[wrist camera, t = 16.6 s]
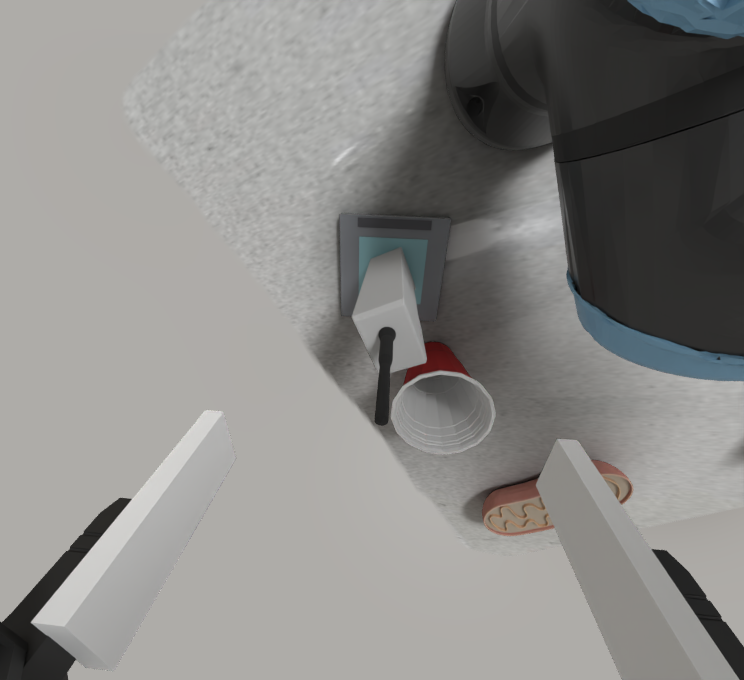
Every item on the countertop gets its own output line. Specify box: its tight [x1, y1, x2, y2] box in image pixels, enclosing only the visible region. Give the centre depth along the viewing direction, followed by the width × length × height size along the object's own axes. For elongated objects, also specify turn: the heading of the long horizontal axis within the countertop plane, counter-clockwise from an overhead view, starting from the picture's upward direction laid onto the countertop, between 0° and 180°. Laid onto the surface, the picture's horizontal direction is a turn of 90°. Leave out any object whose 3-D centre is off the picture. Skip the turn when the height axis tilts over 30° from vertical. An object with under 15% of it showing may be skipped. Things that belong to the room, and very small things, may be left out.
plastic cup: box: [391, 342, 496, 455], centre depth 37 cm, size 11×11×12 cm
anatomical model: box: [482, 460, 633, 536], centre depth 50 cm, size 23×10×5 cm, turn 126°
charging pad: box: [340, 213, 451, 321], centre depth 36 cm, size 12×12×1 cm
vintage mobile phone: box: [352, 247, 427, 426], centre depth 24 cm, size 4×5×25 cm
